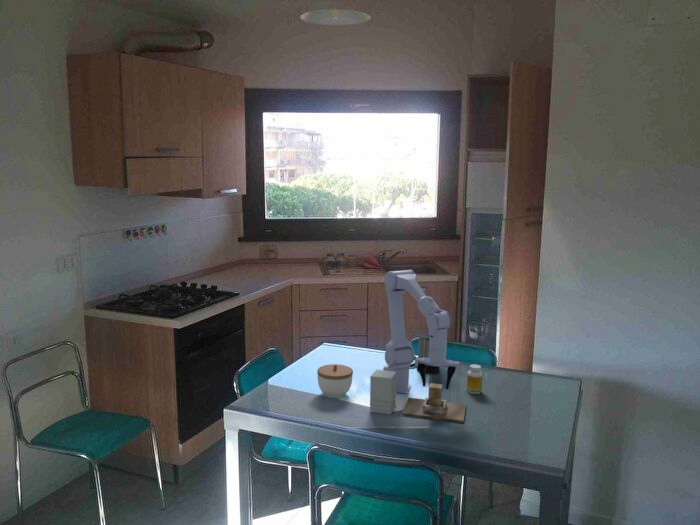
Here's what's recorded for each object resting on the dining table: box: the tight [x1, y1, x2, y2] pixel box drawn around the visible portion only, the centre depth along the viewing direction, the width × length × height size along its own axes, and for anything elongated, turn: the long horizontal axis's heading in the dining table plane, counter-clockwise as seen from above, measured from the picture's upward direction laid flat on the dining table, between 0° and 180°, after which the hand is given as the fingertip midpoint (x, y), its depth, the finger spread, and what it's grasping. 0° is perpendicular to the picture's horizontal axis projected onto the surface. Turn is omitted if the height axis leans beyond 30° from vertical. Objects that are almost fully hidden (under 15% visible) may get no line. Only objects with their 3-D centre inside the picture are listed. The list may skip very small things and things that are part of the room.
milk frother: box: [409, 331, 441, 375], centre depth 245 cm, size 14×16×15 cm
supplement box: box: [369, 369, 397, 415], centre depth 204 cm, size 7×7×13 cm
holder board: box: [401, 397, 467, 424], centre depth 205 cm, size 20×14×3 cm
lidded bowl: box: [316, 363, 354, 399], centre depth 216 cm, size 13×13×11 cm
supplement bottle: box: [466, 364, 483, 395], centre depth 222 cm, size 5×5×10 cm
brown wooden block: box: [428, 382, 443, 407], centre depth 204 cm, size 4×4×8 cm
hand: (435, 386), depth 204 cm, fingers open, 7 cm apart
